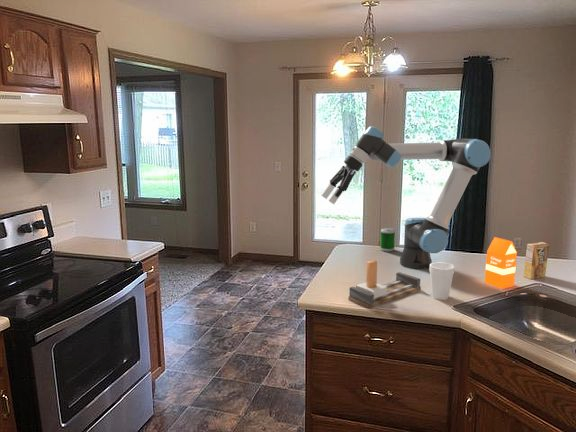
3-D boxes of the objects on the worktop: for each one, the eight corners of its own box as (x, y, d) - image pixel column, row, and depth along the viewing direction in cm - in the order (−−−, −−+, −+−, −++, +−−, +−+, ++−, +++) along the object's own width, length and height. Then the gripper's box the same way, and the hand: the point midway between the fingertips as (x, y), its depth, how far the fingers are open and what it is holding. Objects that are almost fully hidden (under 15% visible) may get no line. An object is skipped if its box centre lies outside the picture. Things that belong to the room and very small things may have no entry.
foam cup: (424, 292, 189) (426, 262, 186) (446, 291, 190) (448, 261, 187) (433, 301, 180) (435, 270, 177) (456, 300, 181) (458, 269, 178)
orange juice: (501, 288, 193) (505, 242, 188) (484, 282, 200) (487, 237, 196) (514, 285, 196) (518, 240, 192) (496, 279, 204) (500, 235, 200)
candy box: (537, 274, 210) (541, 241, 207) (545, 277, 206) (549, 244, 203) (523, 276, 207) (526, 243, 204) (530, 279, 203) (534, 246, 200)
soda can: (394, 252, 246) (395, 230, 244) (380, 251, 248) (380, 230, 245) (394, 248, 254) (395, 227, 251) (380, 247, 255) (380, 226, 253)
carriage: (369, 287, 188) (370, 257, 185) (386, 294, 181) (387, 262, 178) (355, 292, 183) (356, 261, 180) (372, 299, 176) (373, 266, 173)
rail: (399, 282, 201) (400, 271, 200) (420, 289, 192) (421, 278, 191) (348, 299, 183) (348, 287, 182) (368, 308, 174) (369, 296, 173)
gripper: (341, 152, 209) (314, 190, 211) (357, 156, 185) (327, 199, 186) (354, 161, 211) (327, 199, 212) (372, 167, 186) (341, 210, 188)
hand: (327, 199), depth 199 cm, fingers open, 13 cm apart
